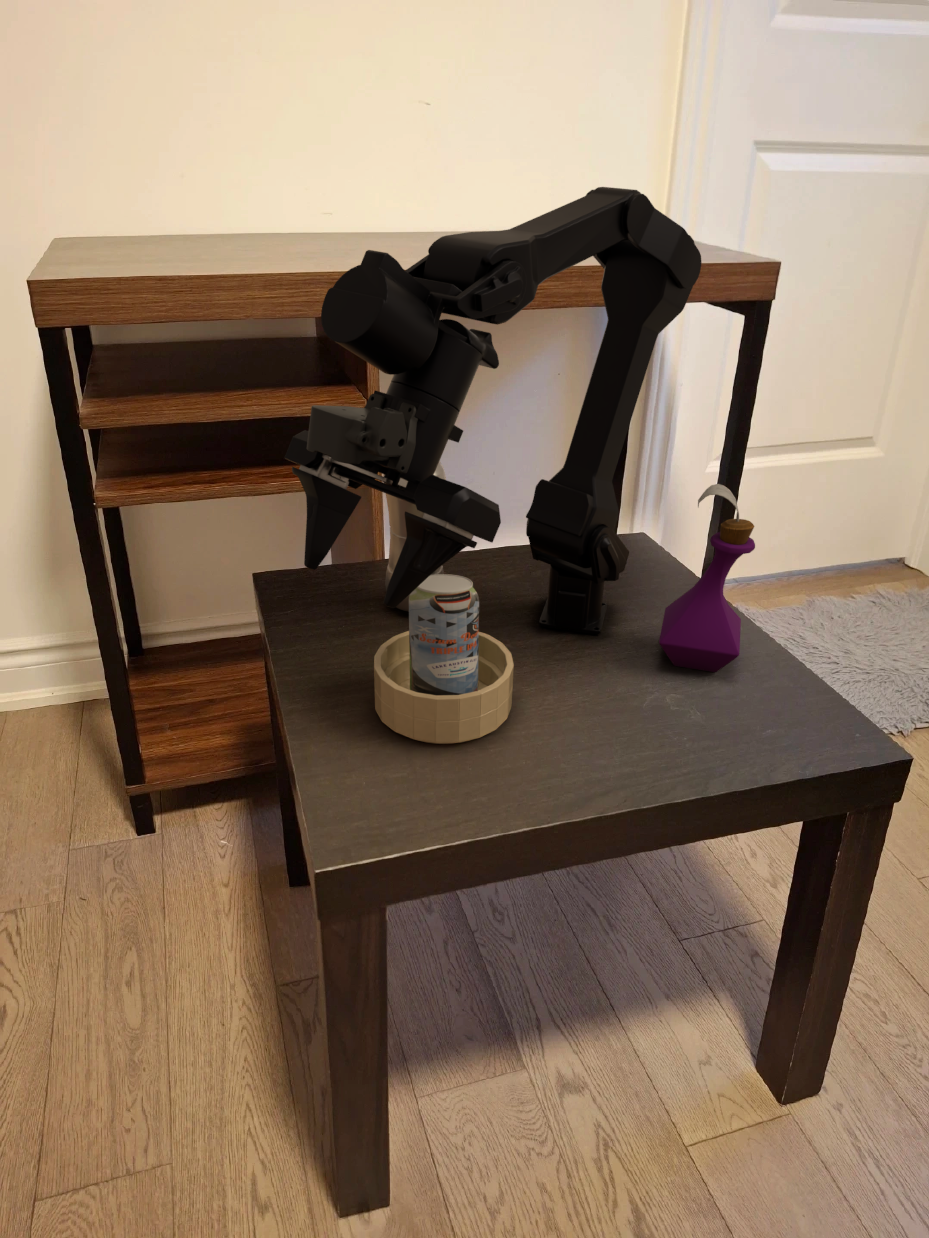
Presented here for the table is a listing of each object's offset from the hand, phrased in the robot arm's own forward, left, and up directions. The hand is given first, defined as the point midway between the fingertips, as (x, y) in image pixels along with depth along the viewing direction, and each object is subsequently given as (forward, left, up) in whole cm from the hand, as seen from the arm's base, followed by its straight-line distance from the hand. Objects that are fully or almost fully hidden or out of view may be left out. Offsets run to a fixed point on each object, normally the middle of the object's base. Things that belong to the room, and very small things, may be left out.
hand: (347, 586), depth 73 cm
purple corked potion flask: (-22, +28, -15) cm, 39 cm away
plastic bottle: (-25, -2, -15) cm, 30 cm away
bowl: (-7, +6, -15) cm, 18 cm away
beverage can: (-7, +6, -15) cm, 17 cm away
